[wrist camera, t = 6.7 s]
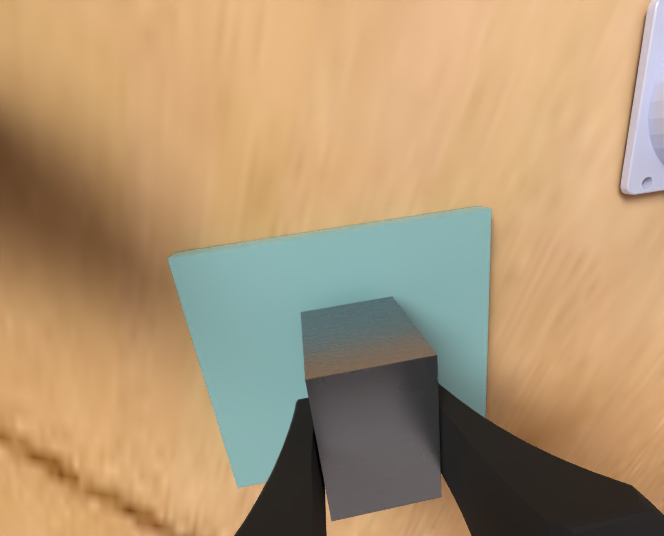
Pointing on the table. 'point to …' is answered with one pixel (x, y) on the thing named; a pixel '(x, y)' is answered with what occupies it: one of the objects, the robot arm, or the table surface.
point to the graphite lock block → (372, 406)
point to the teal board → (321, 292)
